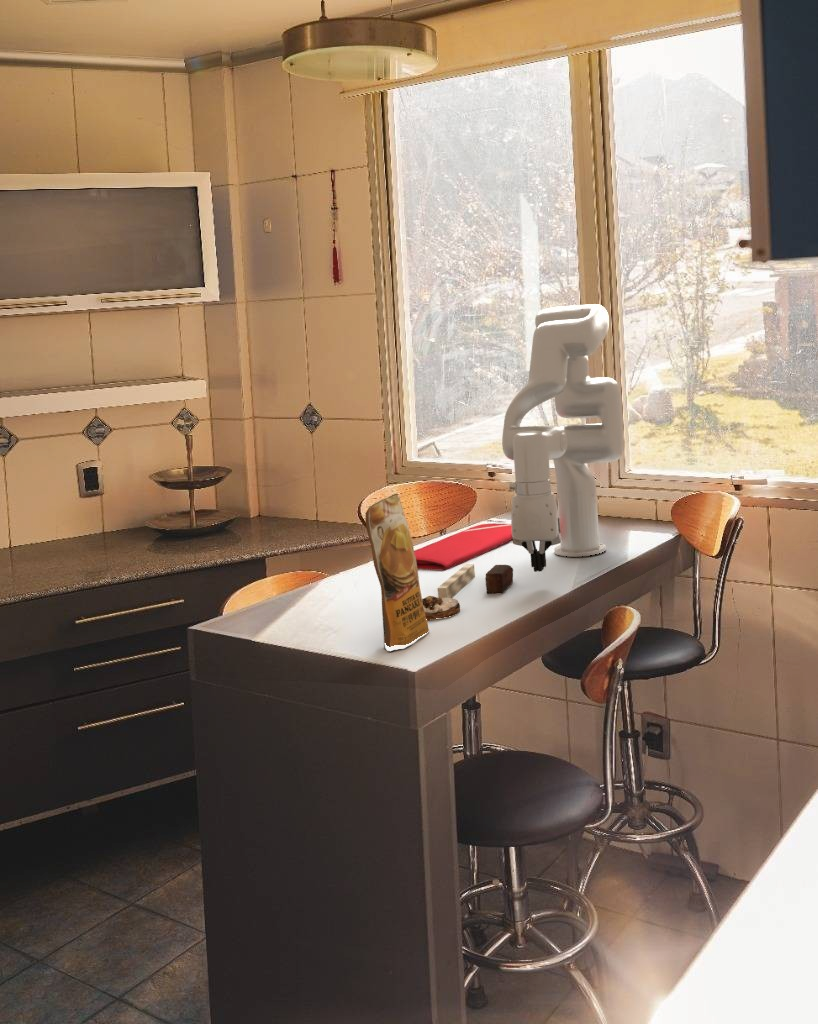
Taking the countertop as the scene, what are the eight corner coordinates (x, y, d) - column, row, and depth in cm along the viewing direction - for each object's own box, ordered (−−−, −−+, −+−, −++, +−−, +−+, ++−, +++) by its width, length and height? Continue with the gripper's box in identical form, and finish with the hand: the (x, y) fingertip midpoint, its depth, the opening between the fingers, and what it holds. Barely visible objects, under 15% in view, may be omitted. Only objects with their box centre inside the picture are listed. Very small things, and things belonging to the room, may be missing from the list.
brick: (503, 594, 263) (502, 573, 262) (486, 594, 264) (484, 573, 263) (514, 582, 273) (512, 562, 272) (497, 582, 274) (495, 562, 273)
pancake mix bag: (365, 654, 226) (351, 508, 221) (408, 626, 243) (396, 489, 238) (398, 656, 223) (384, 508, 219) (438, 627, 240) (427, 489, 235)
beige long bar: (466, 576, 281) (465, 564, 281) (475, 576, 281) (474, 564, 280) (438, 601, 261) (437, 588, 260) (447, 601, 260) (446, 588, 260)
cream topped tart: (406, 606, 261) (404, 587, 261) (473, 605, 257) (471, 586, 257) (386, 624, 247) (384, 605, 247) (457, 624, 243) (455, 604, 243)
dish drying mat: (393, 569, 299) (391, 554, 298) (477, 535, 332) (476, 521, 331) (446, 572, 290) (445, 557, 289) (528, 537, 323) (527, 523, 322)
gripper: (495, 492, 260) (501, 574, 264) (563, 490, 256) (569, 574, 259) (504, 486, 267) (510, 566, 271) (570, 484, 263) (575, 566, 266)
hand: (539, 570), depth 265 cm, fingers closed
